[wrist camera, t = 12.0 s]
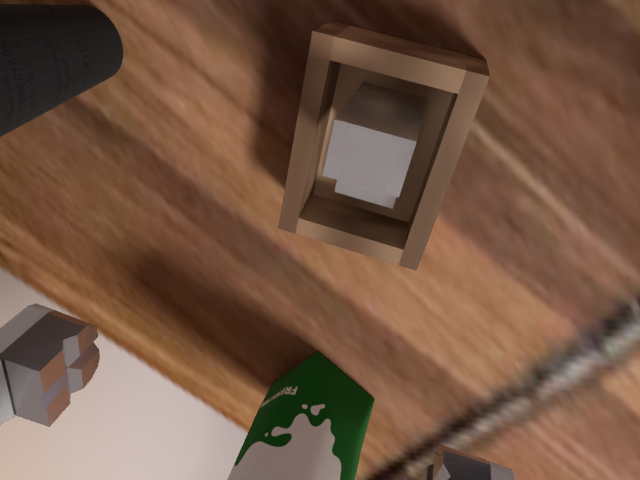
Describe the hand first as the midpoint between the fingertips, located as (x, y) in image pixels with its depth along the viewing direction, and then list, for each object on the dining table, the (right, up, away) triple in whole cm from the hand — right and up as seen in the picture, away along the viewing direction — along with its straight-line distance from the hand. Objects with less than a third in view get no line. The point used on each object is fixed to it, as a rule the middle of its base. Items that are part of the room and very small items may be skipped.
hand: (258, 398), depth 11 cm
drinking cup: (-14, +17, +23) cm, 32 cm away
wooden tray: (+5, +10, +21) cm, 24 cm away
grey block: (+5, +10, +20) cm, 23 cm away
